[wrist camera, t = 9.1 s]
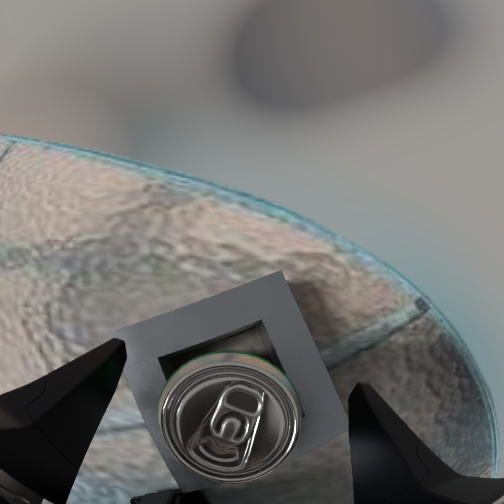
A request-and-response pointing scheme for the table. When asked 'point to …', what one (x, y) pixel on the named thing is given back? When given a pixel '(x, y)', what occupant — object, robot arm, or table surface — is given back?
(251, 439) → the soda can
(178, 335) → the sleeve block
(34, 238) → the table surface
